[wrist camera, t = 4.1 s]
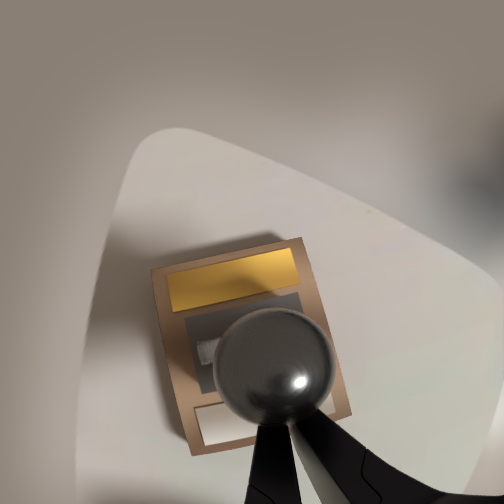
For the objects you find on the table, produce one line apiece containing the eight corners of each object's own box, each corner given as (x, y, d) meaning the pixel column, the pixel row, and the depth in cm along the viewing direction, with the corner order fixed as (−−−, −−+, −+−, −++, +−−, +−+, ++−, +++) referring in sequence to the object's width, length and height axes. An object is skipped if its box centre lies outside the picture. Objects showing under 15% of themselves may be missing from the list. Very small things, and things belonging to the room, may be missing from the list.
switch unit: (342, 411, 19) (370, 422, 14) (196, 448, 17) (183, 471, 13) (296, 247, 23) (310, 216, 18) (157, 278, 21) (136, 253, 17)
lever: (306, 356, 15) (403, 403, 6) (208, 380, 14) (184, 467, 5) (292, 299, 16) (379, 277, 6) (193, 322, 15) (144, 334, 6)
